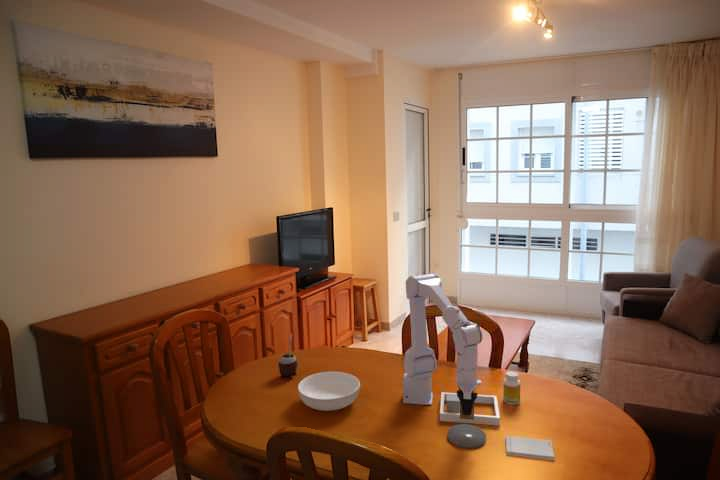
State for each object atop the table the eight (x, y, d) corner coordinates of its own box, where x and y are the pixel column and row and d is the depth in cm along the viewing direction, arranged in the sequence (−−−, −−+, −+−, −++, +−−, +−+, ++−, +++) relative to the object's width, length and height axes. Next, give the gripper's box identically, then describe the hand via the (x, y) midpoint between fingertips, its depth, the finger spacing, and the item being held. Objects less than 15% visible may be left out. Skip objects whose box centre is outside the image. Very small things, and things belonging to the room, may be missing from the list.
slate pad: (446, 446, 139) (446, 443, 139) (447, 425, 150) (447, 422, 149) (486, 450, 137) (486, 446, 137) (484, 428, 147) (484, 425, 147)
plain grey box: (446, 416, 155) (446, 400, 154) (446, 410, 159) (446, 394, 158) (459, 417, 154) (459, 401, 153) (459, 411, 158) (459, 395, 157)
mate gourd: (283, 382, 182) (281, 343, 179) (275, 374, 189) (273, 337, 186) (301, 377, 186) (299, 339, 183) (293, 369, 192) (291, 333, 190)
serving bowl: (373, 401, 166) (372, 382, 165) (328, 426, 151) (327, 406, 150) (330, 383, 180) (330, 365, 179) (286, 405, 165) (284, 386, 164)
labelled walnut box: (459, 418, 140) (459, 400, 140) (459, 411, 144) (459, 393, 143) (474, 419, 140) (474, 401, 139) (473, 412, 144) (473, 394, 143)
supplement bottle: (520, 405, 160) (521, 377, 159) (503, 404, 161) (504, 376, 160) (519, 397, 165) (519, 370, 164) (502, 396, 167) (503, 369, 165)
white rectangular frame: (439, 420, 153) (439, 413, 152) (441, 399, 166) (441, 392, 166) (499, 425, 149) (499, 417, 149) (496, 402, 162) (496, 395, 162)
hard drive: (551, 439, 139) (505, 434, 142) (554, 457, 131) (506, 450, 134) (551, 445, 139) (505, 439, 142) (554, 462, 132) (506, 456, 135)
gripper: (482, 378, 132) (482, 424, 134) (480, 356, 146) (479, 399, 148) (455, 376, 133) (455, 422, 135) (456, 355, 147) (456, 397, 149)
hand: (466, 410), depth 142 cm, fingers closed on labelled walnut box, 4 cm apart
